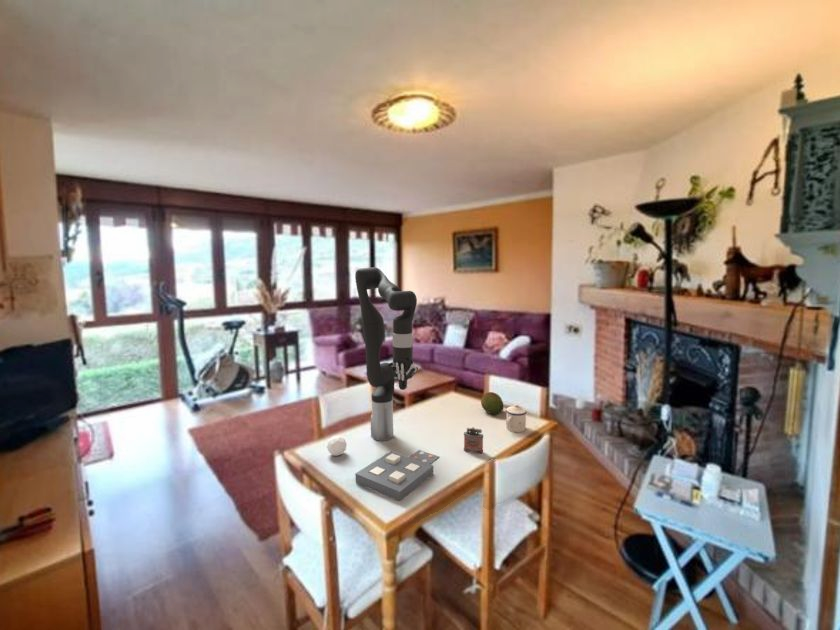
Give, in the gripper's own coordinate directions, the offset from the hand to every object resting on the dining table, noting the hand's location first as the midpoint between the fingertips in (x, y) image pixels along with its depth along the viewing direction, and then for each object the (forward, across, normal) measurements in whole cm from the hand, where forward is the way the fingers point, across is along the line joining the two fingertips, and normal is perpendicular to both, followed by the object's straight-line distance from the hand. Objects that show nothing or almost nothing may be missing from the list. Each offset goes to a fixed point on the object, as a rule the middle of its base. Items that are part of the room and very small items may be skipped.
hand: (403, 389), depth 152 cm
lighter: (+30, +18, +23) cm, 42 cm away
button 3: (+29, 0, -15) cm, 32 cm away
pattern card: (+30, +4, +7) cm, 31 cm away
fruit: (+30, +7, +66) cm, 73 cm away
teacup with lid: (+30, +24, +52) cm, 65 cm away
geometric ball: (+30, -26, -10) cm, 42 cm away
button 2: (+28, +9, -6) cm, 31 cm away
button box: (+30, +5, -11) cm, 32 cm away
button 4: (+27, +9, -15) cm, 33 cm away
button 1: (+27, 0, -6) cm, 28 cm away
